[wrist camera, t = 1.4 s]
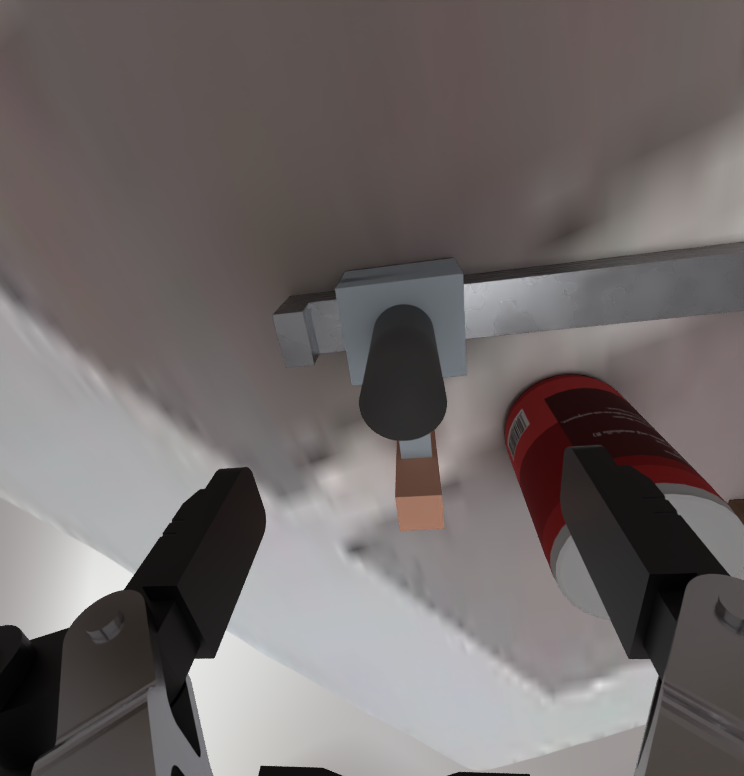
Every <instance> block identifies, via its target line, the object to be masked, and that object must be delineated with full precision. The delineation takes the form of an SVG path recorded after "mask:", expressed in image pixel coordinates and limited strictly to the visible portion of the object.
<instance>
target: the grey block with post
mask: <svg viewBox="0 0 744 776" xmlns="http://www.w3.org/2000/svg"><path fill="white" fill-rule="evenodd" d="M335 293H336V298H337V304H338V309H339V315H340V321H341V326H342V332H343V337H344V343H345V349H346V354H347V360H348V365H349V371H350V377H351V382H352V386H354V385H362V388H361V393H360V398H359V407H360V412H361V415H362V417H363V419H364V421H365V422H366V424H367V425H368V426H369V427H370V428H371V429H372V430H373V431H374V432H376V433H377V434H379V435H381V436H383V437H385V438H388V439H392V440H397V455H396V489H395V499H396V506H397V513H398V520H399V527H400V531H407V530H430V529H444V517H443V504H442V492H441V483H440V475H439V466H438V457H437V449H436V440H435V431H434V430H435V429H436V428H437V427H438V425H439V424H440V423H441V421H442V420H443V418H444V416H445V413H446V408H447V398H446V392H445V387H444V381H443V378H444V377H455V376H466V375H467V371H466V341H465V312H464V282H463V272H462V271H461V269H460V267H459V265H458V264H457V262H456V260H455V259H454V258H449V259H441V260H433V261H425V262H417V263H409V264H401V265H394V266H386V267H378V268H370V269H362V270H354V271H346V272H345V273H344V275H343V276H342V278H341V280H340V281H339V283H338V285H337V286H336V288H335Z"/></svg>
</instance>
